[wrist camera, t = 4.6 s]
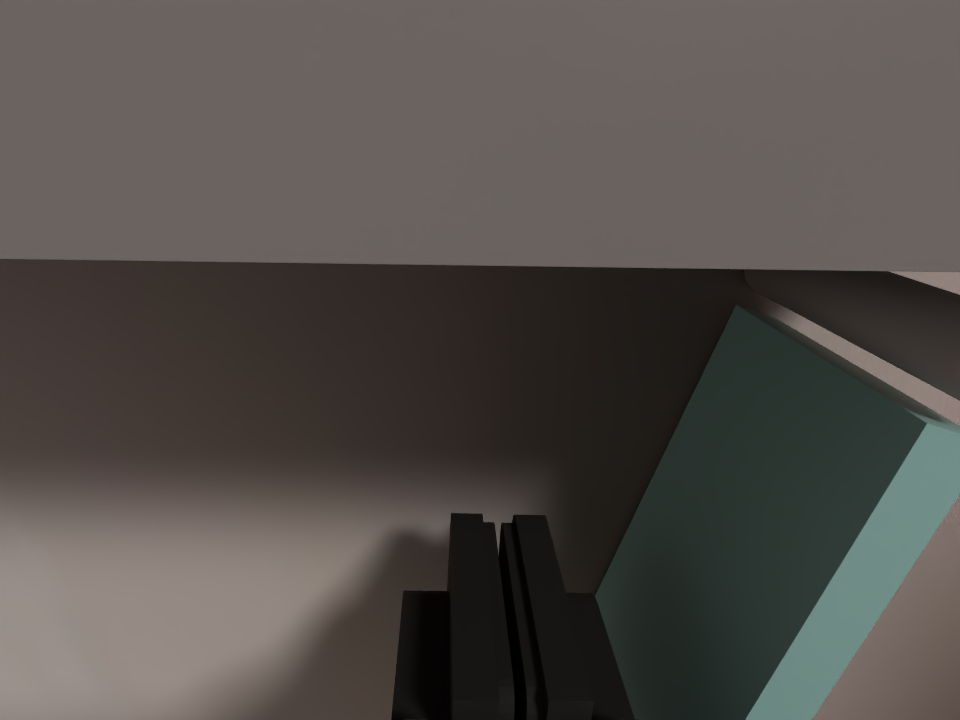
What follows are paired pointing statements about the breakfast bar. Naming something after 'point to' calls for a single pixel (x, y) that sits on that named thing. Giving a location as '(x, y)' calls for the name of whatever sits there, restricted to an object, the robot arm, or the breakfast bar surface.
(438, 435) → the breakfast bar surface
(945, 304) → the side door
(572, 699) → the robot arm
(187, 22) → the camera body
